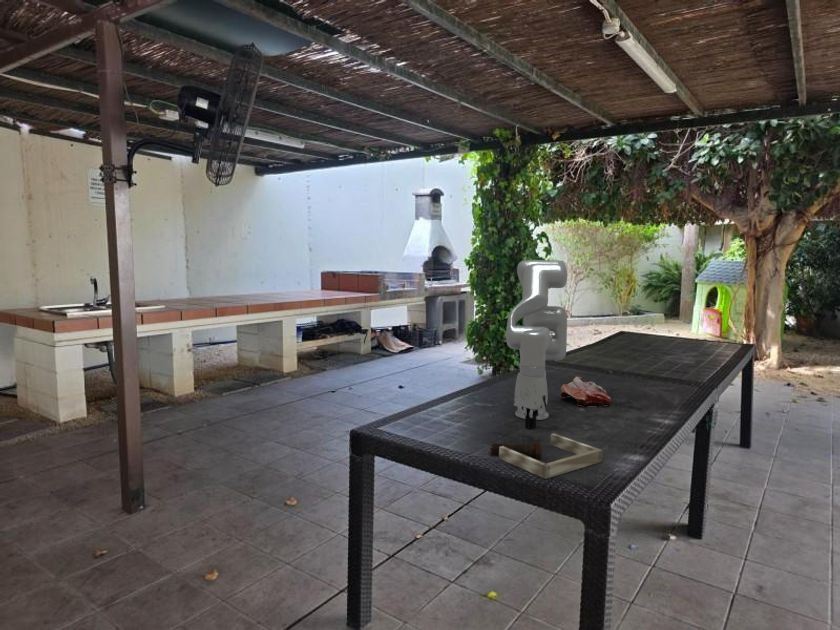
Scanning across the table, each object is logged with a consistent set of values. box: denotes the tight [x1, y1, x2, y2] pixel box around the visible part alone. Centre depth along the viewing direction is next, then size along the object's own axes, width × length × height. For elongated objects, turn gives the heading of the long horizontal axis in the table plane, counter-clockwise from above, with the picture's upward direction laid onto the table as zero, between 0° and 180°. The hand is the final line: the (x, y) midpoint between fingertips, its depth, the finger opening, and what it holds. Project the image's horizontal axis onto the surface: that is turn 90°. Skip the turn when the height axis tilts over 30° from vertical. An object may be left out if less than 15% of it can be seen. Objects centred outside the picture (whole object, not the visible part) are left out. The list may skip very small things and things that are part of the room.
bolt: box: [489, 439, 542, 460], centre depth 162 cm, size 6×5×15 cm
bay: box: [498, 433, 603, 480], centre depth 159 cm, size 18×24×4 cm
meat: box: [559, 376, 611, 407], centre depth 228 cm, size 21×21×10 cm
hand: (530, 428), depth 166 cm, fingers closed
